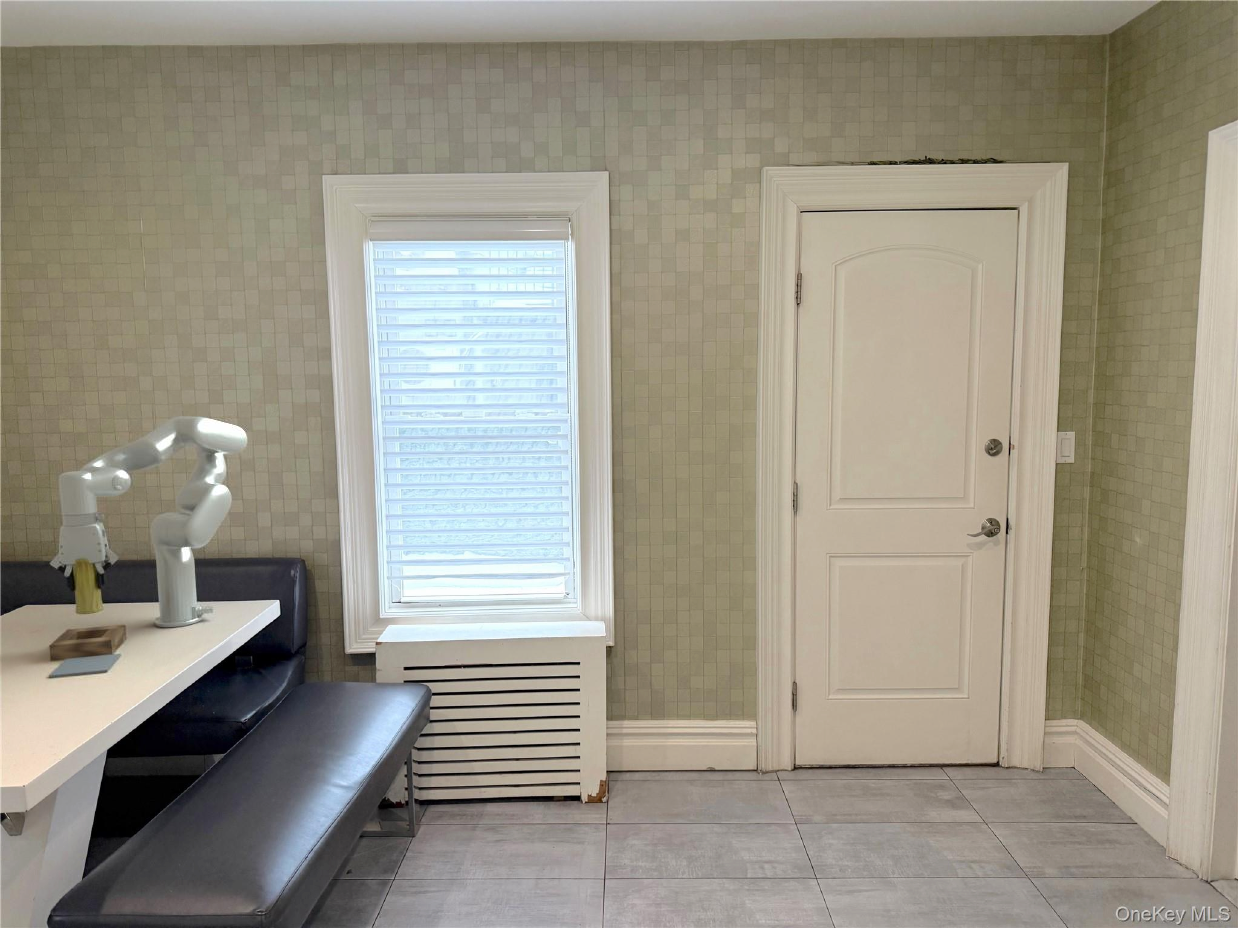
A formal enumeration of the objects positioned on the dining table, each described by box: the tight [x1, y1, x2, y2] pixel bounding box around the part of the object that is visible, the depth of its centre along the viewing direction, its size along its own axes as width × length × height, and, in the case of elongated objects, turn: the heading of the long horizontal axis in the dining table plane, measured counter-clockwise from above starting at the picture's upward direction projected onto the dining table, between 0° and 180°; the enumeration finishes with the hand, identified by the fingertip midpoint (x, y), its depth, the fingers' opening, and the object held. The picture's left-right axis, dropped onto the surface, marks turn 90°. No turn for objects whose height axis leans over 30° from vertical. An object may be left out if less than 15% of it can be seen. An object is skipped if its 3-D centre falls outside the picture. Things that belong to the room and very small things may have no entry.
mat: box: [48, 653, 122, 679], centre depth 199 cm, size 12×12×1 cm
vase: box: [73, 559, 105, 615], centre depth 210 cm, size 6×6×14 cm
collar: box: [48, 624, 127, 662], centre depth 211 cm, size 14×14×4 cm
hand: (87, 588), depth 210 cm, fingers closed on vase, 5 cm apart
